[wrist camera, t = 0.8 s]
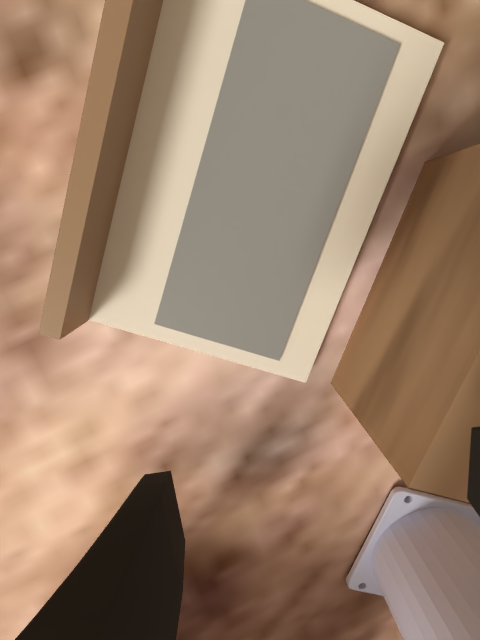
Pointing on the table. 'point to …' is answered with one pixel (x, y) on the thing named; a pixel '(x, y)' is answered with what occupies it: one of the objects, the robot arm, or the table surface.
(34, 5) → the table surface
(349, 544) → the table surface
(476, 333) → the brown slab
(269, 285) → the tan rimmed flat piece
